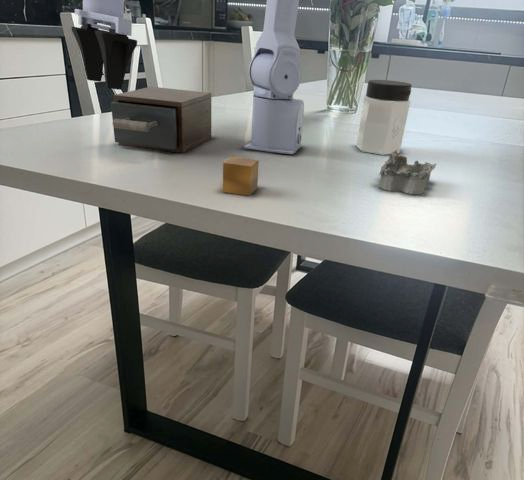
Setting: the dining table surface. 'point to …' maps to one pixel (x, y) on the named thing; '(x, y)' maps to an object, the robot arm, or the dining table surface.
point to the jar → (383, 116)
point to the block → (240, 175)
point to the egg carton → (404, 175)
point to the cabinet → (189, 113)
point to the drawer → (145, 124)
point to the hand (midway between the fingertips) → (103, 84)
